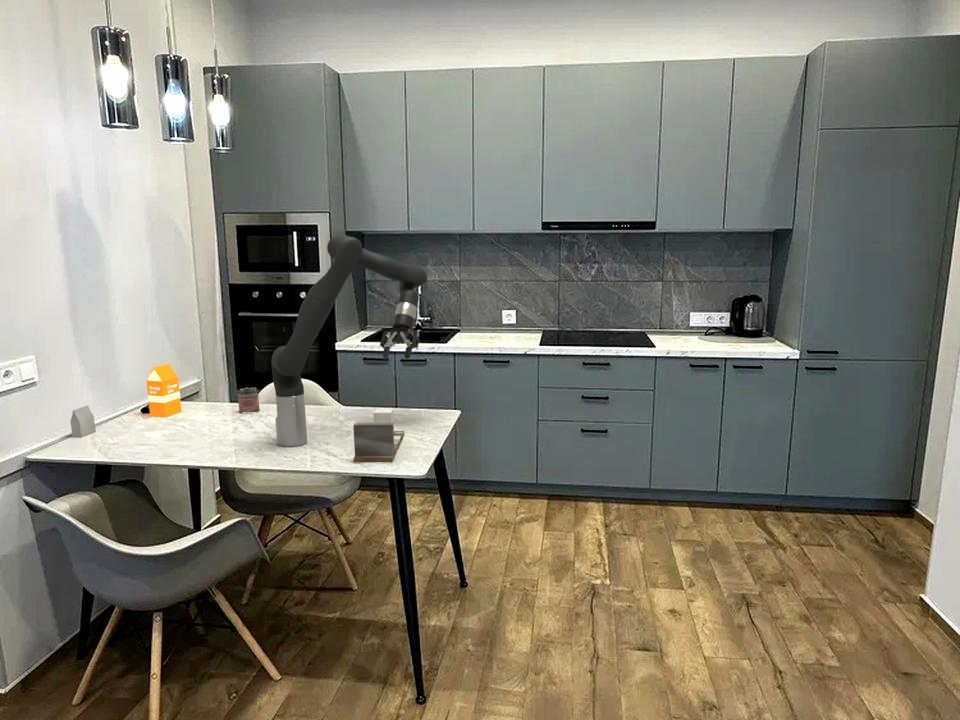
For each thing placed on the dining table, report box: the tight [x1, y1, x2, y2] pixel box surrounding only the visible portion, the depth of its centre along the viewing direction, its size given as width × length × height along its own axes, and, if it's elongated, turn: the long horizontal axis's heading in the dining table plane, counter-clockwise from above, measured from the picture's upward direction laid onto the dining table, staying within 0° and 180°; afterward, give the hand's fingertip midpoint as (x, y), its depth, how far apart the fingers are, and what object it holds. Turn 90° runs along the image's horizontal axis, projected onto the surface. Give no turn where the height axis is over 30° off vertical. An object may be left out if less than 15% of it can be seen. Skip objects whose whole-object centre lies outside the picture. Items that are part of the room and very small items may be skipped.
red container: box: [237, 387, 261, 414], centre depth 262 cm, size 8×3×10 cm, turn 101°
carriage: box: [372, 408, 402, 435], centre depth 222 cm, size 7×9×9 cm
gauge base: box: [352, 421, 405, 463], centre depth 216 cm, size 28×12×12 cm, turn 179°
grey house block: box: [69, 405, 96, 439], centre depth 235 cm, size 4×7×10 cm, turn 169°
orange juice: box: [146, 363, 182, 418], centre depth 260 cm, size 8×9×20 cm
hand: (395, 358), depth 231 cm, fingers open, 8 cm apart
